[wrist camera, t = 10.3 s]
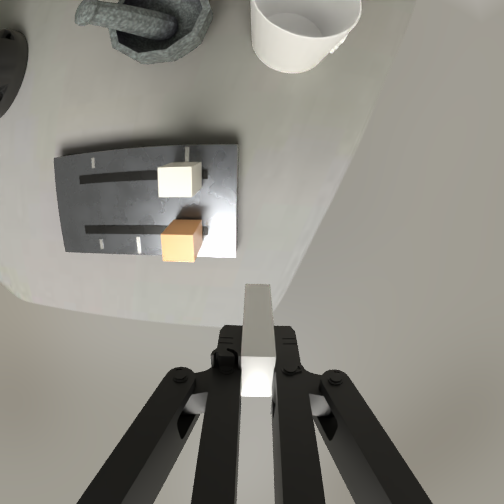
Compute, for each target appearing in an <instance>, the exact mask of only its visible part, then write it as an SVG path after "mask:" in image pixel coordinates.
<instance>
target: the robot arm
mask: <svg viewBox="0 0 504 504" xmlns="http://www.w3.org/2000/svg"><path fill="white" fill-rule="evenodd" d="M27 57H28V48H27V42H26V39H25V37H24V35H23V34H22V33H20V32H18V31H15V30H11V29H1V30H0V118H1V117H2V116H3V115H4V114H5V112H6V111H7V110H8V108H9V107H10V106H11V104H12V102H13V101H14V99H15V97H16V95H17V93H18V91H19V88H20V86H21V83H22V80H23V77H24V74H25V70H26V65H27ZM211 365H212V367H211V368H210V369H208V370H206V371H203V372H198V373H194V372H193V371H192V370H190V369H188V368H186V367H177V368H174V369H171V370H170V371H169V372H168V373H167V374H166V376H165V377H164V378H163V380H162V381H161V383H160V384H159V386H158V387H157V388H156V390H155V391H154V393H153V394H152V396H151V397H150V399H149V400H148V401H147V403H146V404H145V406H144V407H143V409H142V410H141V412H140V413H139V414H138V416H137V417H136V419H135V420H134V422H133V423H132V424H131V426H130V427H129V429H128V430H127V432H126V433H125V435H124V436H123V437H122V439H121V440H120V442H119V443H118V445H117V446H116V447H115V449H114V450H113V452H112V453H111V455H110V456H109V458H108V459H107V460H106V462H105V463H104V465H103V466H102V468H101V469H100V471H99V472H98V473H97V475H96V476H95V478H94V479H93V481H92V482H91V483H90V485H89V486H88V488H87V489H86V491H85V492H84V494H83V495H82V496H81V498H80V499H79V501H78V502H77V504H153V503H154V501H155V499H156V497H157V495H158V494H159V492H160V490H161V488H162V486H163V484H164V482H165V481H166V479H167V477H168V475H169V473H170V471H171V469H172V468H173V465H174V464H175V462H176V460H177V458H178V456H179V454H180V452H181V450H182V449H183V447H184V445H185V443H186V441H187V439H188V437H189V435H190V433H191V431H192V429H193V427H194V425H195V423H196V421H197V420H198V418H199V416H200V413H204V419H203V425H202V432H201V439H200V445H199V452H198V458H197V465H196V472H195V479H194V486H193V493H192V500H191V504H236V501H237V499H236V498H237V477H238V456H239V434H240V414H241V396H258V397H272V405H271V414H272V428H273V429H272V431H273V458H274V486H275V487H274V489H275V504H325V497H324V489H323V482H322V476H321V468H320V461H319V454H318V448H317V441H316V435H315V428H314V422H315V424H316V426H317V428H318V430H319V432H320V434H321V436H322V438H323V440H324V442H325V444H326V446H327V448H328V450H329V452H330V454H331V456H332V458H333V460H334V462H335V464H336V466H337V468H338V470H339V472H340V474H341V476H342V478H343V480H344V482H345V484H346V486H347V488H348V490H349V491H350V494H351V496H352V498H353V500H354V502H355V503H356V504H432V502H431V500H430V499H429V498H428V496H427V494H426V493H425V491H424V490H423V488H422V487H421V485H420V484H419V482H418V480H417V479H416V478H415V476H414V474H413V473H412V471H411V470H410V468H409V467H408V465H407V464H406V462H405V461H404V459H403V458H402V456H401V455H400V453H399V452H398V450H397V449H396V447H395V446H394V444H393V442H392V441H391V439H390V438H389V436H388V435H387V433H386V432H385V430H384V429H383V427H382V426H381V425H380V423H379V421H378V420H377V418H376V417H375V415H374V414H373V412H372V411H371V409H370V408H369V406H368V405H367V404H366V402H365V400H364V399H363V397H362V396H361V394H360V393H359V392H358V390H357V389H356V387H355V386H354V384H353V383H352V381H351V380H350V378H349V377H348V376H347V374H345V373H344V372H342V371H340V370H328V371H326V372H325V373H324V374H323V375H318V374H313V373H310V372H308V371H306V370H305V369H304V367H303V366H302V365H301V363H300V357H299V351H298V345H297V340H296V335H295V331H294V330H293V329H292V328H291V327H290V326H274V325H273V313H272V301H271V290H270V285H265V284H246V285H245V300H244V316H243V326H237V325H224V327H223V328H222V329H221V330H220V334H219V340H218V346H217V348H216V349H215V350H214V351H213V352H212V353H211ZM313 420H314V422H313Z"/></svg>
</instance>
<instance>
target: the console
mask: <svg viewBox="0 0 504 504" xmlns="http://www.w3.org/2000/svg"><path fill="white" fill-rule="evenodd" d="M172 162H202V188H201V189H200V190H199V191H198V192H197V193H196V194H195V195H194V196H193V197H159V193H158V167H161V166H163V165H166V164H169V163H172ZM54 169H55V182H56V192H57V201H58V209H59V216H60V223H61V229H62V235H63V240H64V246H65V251H66V252H80V253H107V254H136V255H162V244H161V234H162V232H163V231H164V230H165V229H166V228H167V227H168V226H169V224H170V223H171V222H172V221H173V220H174V219H178V220H202V239H203V244H202V246H201V248H200V250H199V253H198V255H197V256H198V257H231V258H236V252H237V190H238V144H188V145H165V146H148V147H135V148H124V149H114V150H105V151H96V152H88V153H81V154H74V155H67V156H61V157H57V158H54Z"/></svg>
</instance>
